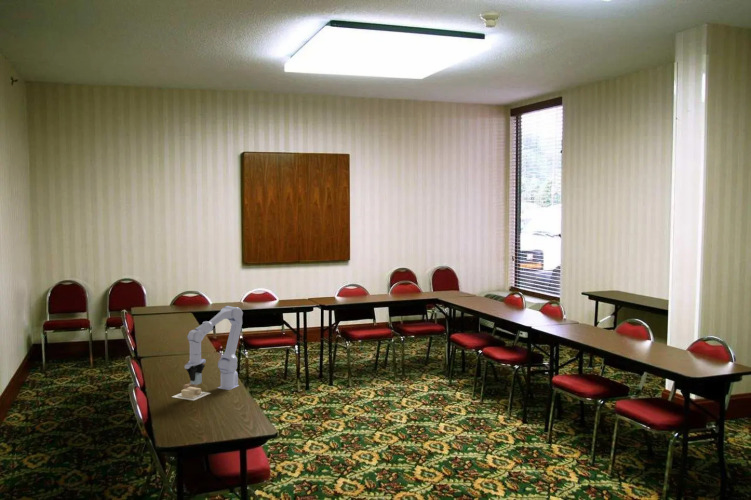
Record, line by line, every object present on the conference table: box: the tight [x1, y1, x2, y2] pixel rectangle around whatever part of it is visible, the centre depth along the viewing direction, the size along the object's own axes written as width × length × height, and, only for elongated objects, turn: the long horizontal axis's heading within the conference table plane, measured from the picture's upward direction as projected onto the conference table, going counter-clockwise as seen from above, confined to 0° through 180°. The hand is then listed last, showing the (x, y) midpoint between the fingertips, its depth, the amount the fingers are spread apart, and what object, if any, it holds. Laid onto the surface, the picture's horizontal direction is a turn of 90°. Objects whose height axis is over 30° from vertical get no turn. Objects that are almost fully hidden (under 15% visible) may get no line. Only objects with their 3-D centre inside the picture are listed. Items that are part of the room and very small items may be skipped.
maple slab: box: [180, 387, 202, 398], centre depth 329 cm, size 7×7×3 cm
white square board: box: [171, 391, 211, 401], centre depth 329 cm, size 14×14×1 cm
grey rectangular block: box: [189, 372, 203, 385], centre depth 328 cm, size 4×4×5 cm
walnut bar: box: [182, 382, 199, 390], centre depth 339 cm, size 8×3×3 cm, turn 158°
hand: (195, 379), depth 329 cm, fingers closed on grey rectangular block, 4 cm apart
